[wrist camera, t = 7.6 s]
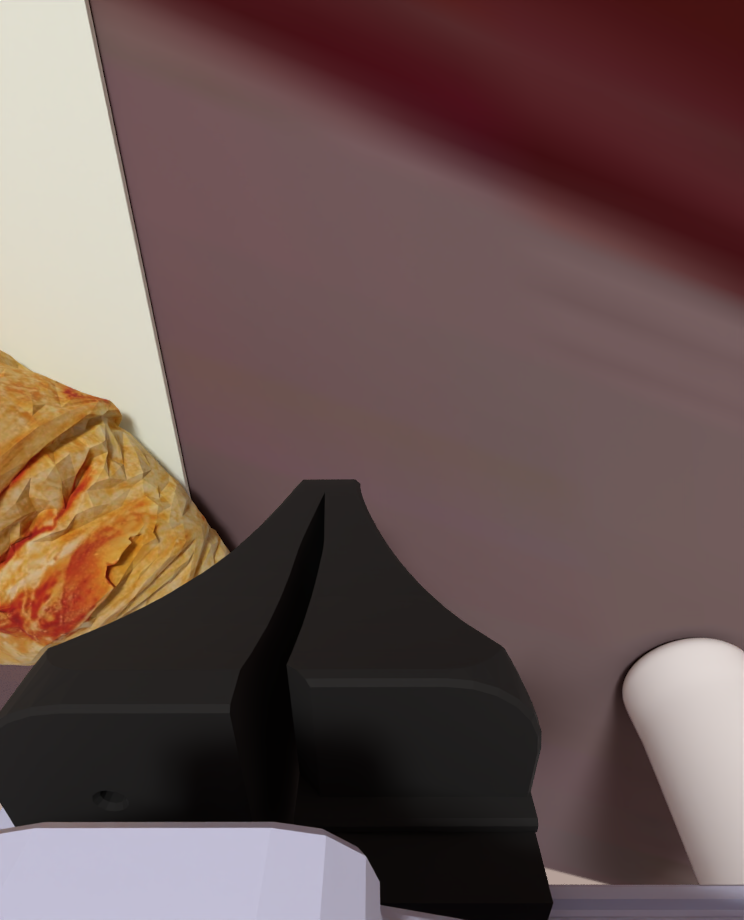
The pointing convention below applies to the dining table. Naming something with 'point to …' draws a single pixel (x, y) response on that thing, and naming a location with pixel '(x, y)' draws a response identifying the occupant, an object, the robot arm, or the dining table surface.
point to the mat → (73, 227)
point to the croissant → (83, 518)
